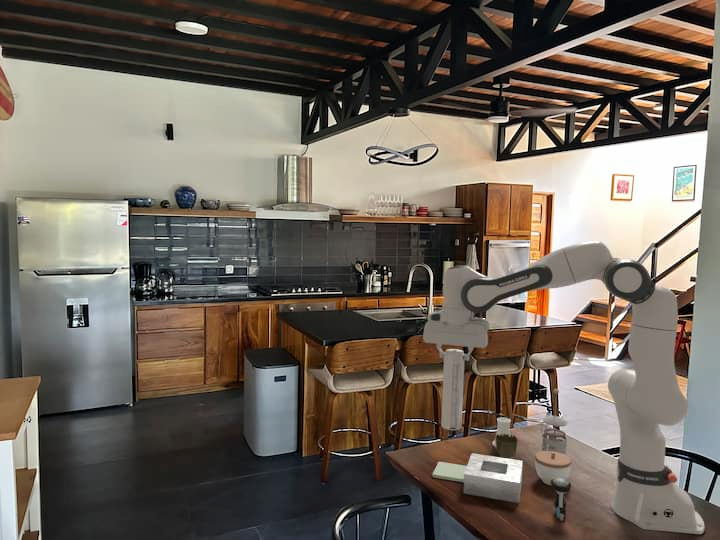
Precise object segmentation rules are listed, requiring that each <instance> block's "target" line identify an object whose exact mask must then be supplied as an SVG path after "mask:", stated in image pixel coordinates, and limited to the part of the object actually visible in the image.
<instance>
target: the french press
mask: <svg viewBox="0 0 720 540" xmlns="http://www.w3.org/2000/svg"><path fill="white" fill-rule="evenodd" d="M552 392H553V394H554V393H555V394H559V393H560V390H559V389H558V388H554V389H553V390H552ZM554 401H555V402H554V406H555V407H554V415H548V416H545V417H544V418H542V423H541V426H540V427H541V428H540V429H541V430H540V433H541V437H542V441H541V443H542V444H541V446H542V448H541V451H554V452H559V453H562V454H564V455H567V453H566V452H567V436H566V435H567V434H566V432H565V431H563V430H560V429H558V428H557V429H556V427H565V426H567V425H568V422H569V421H568V420H566V419H565V418H563V417H561V416H557V415H556V413H557V399H555V400H554ZM544 423H545V428H544V430H543V424H544ZM547 426H552V427H554V428H547ZM560 438H561V439H560Z"/></svg>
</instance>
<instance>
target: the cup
mask: <svg viewBox="0 0 720 540" xmlns="http://www.w3.org/2000/svg"><path fill="white" fill-rule="evenodd" d="M496 434H497V433H496ZM494 437H496V448H495V449H496V452H497V453H498V455H499V457H500V458H507V459H513V458H512V457H513V456H515V454H516V452H517V447H518V440H519V439H518V437H516V435H513V434H510V437H509V435H508V434H507V435H506V434H504V435H503V436H502V434H501V435H499V434H497V436H496V435H495V436H494Z"/></svg>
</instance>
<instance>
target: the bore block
mask: <svg viewBox="0 0 720 540" xmlns="http://www.w3.org/2000/svg"><path fill="white" fill-rule="evenodd" d="M466 466H467V467H466V470H465V473H464V482H463V494H465V495H466V494H467V495H470V496H477V497H482V498H483V497H484V498H489V499H494V500H500V501H505V502H511V503H516V504H520V500H521V499H520V498H521V491H522V483H523V482H522V481H523V467H524V466H523V460H520V459H513V458H512V459H507V458H500V456H499V457H498V456H493V455H486V454H480V453H479V454H478V453H473V452H472V453H471V454H470V457H469V460H468V462H467V464H466Z"/></svg>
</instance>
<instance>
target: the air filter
mask: <svg viewBox="0 0 720 540" xmlns="http://www.w3.org/2000/svg"><path fill="white" fill-rule="evenodd" d="M443 352H444V358H443V371H442V372H443V374H442V375H443V377H442V399H441V400H442V401H441V422H440V424H441V425H440V426H441V428H443V429H445V430H449V431H459V430H461V429H462V426H463V403H464V401H463V400H464V381H465V380H464V379H465V360H464V355H465V354H466V353H464V350H462V349H456V348H447V349H446V350H445V351H443Z"/></svg>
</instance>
